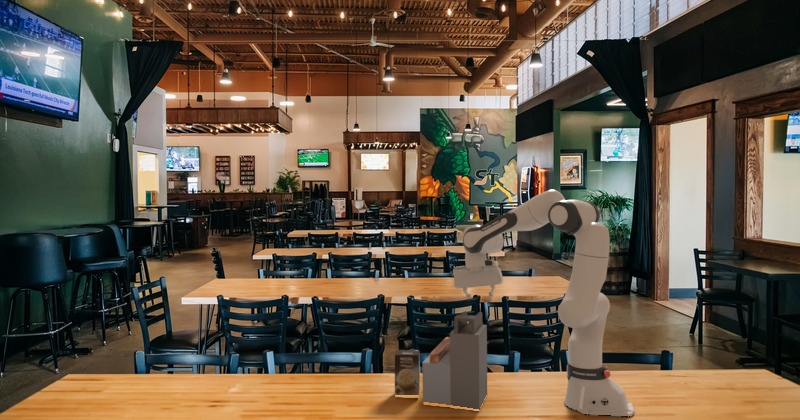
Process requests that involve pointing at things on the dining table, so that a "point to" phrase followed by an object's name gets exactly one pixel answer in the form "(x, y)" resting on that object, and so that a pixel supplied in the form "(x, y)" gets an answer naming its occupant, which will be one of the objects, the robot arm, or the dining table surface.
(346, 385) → the dining table surface
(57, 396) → the dining table surface
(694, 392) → the dining table surface
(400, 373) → the coffee box
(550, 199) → the robot arm
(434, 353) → the bar
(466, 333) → the stepped stand
